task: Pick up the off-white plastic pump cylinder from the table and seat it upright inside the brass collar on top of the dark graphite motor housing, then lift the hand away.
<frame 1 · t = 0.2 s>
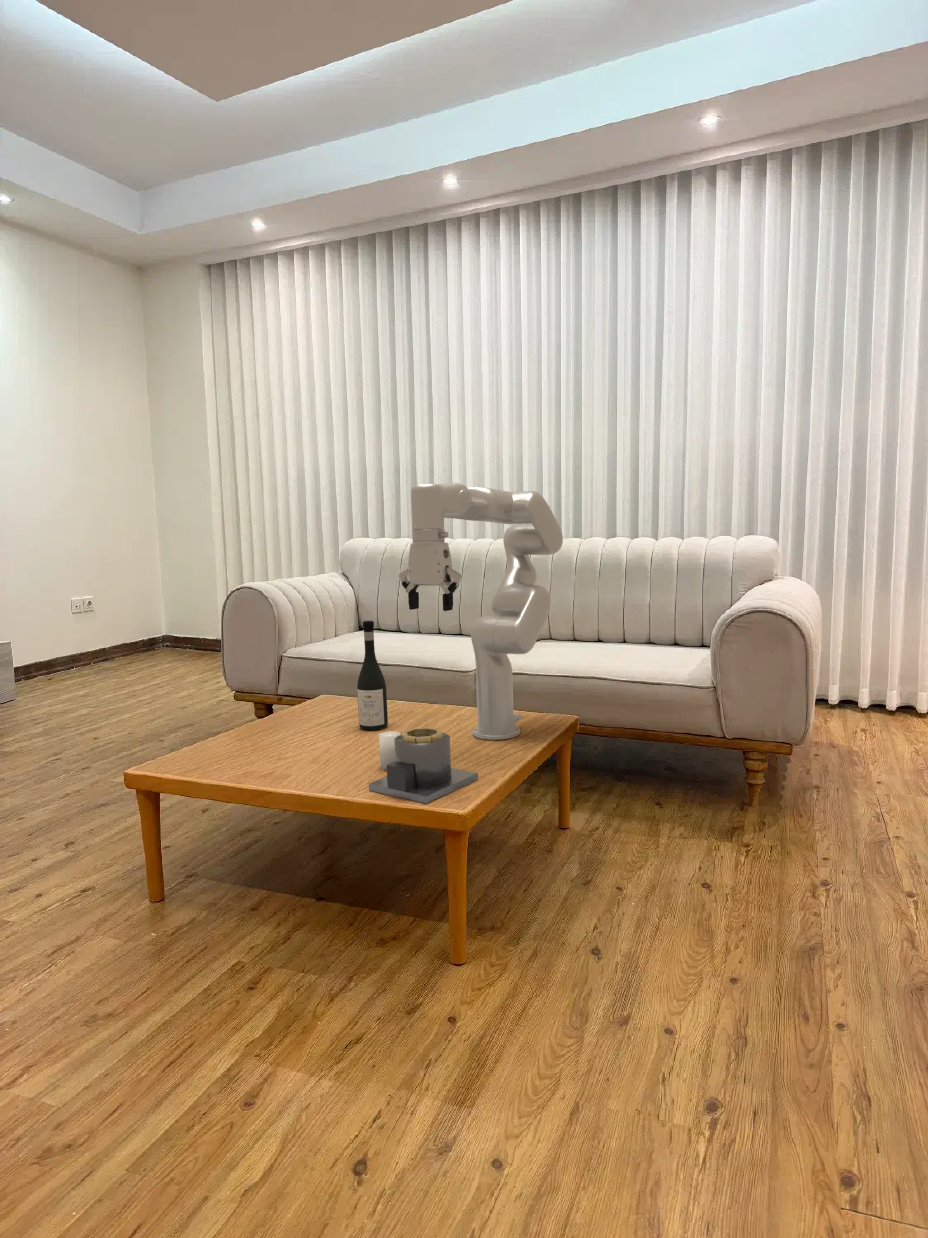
hand: (430, 609, 198), 36 cm above the table, tool pointing down, fingers open, 9 cm apart
pump: (391, 767, 196), on the table
motor: (424, 785, 183), on the table
wine bottle: (373, 728, 234), on the table
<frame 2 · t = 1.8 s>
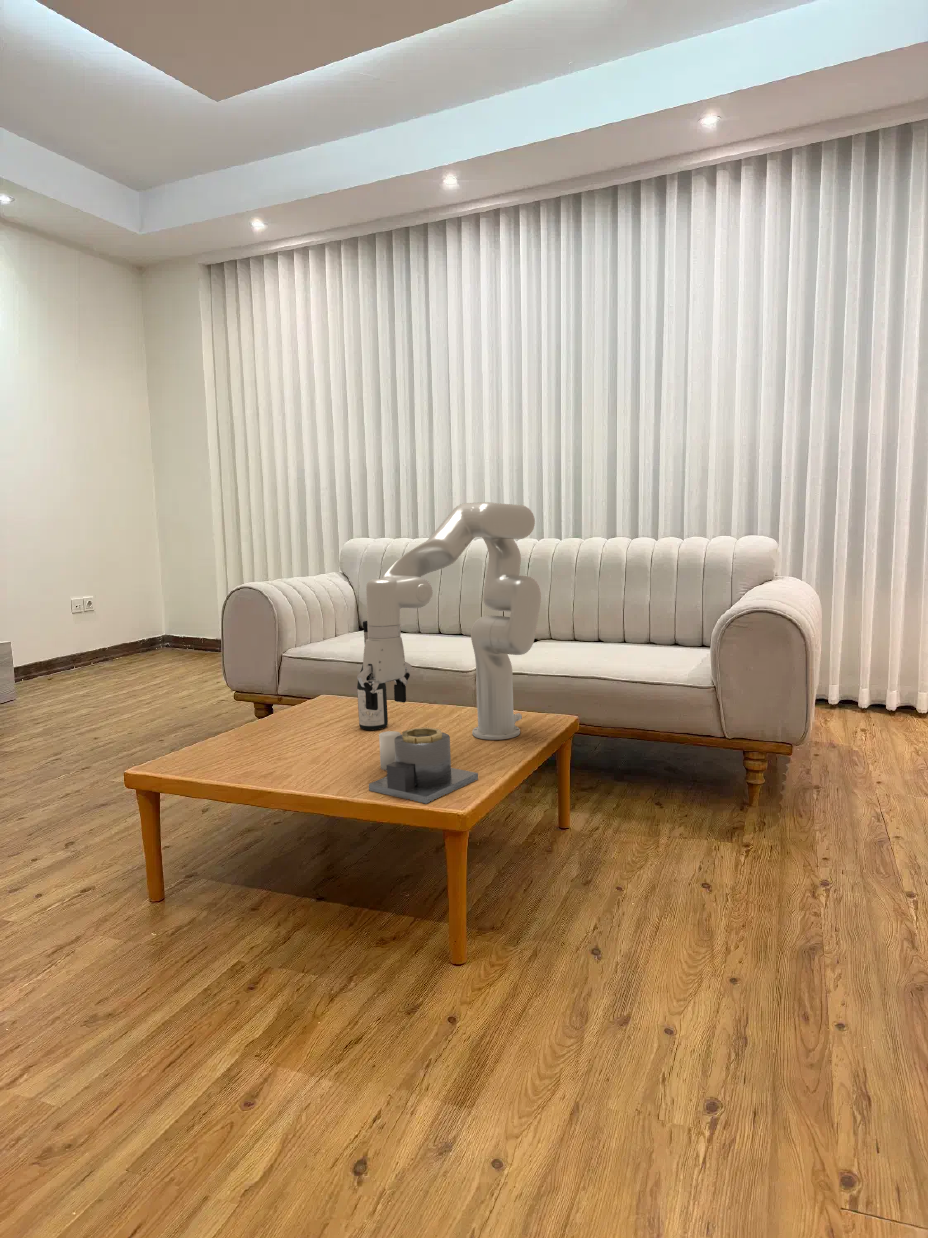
hand: (386, 705, 194), 15 cm above the table, tool pointing down, fingers open, 9 cm apart
nothing on the table moved.
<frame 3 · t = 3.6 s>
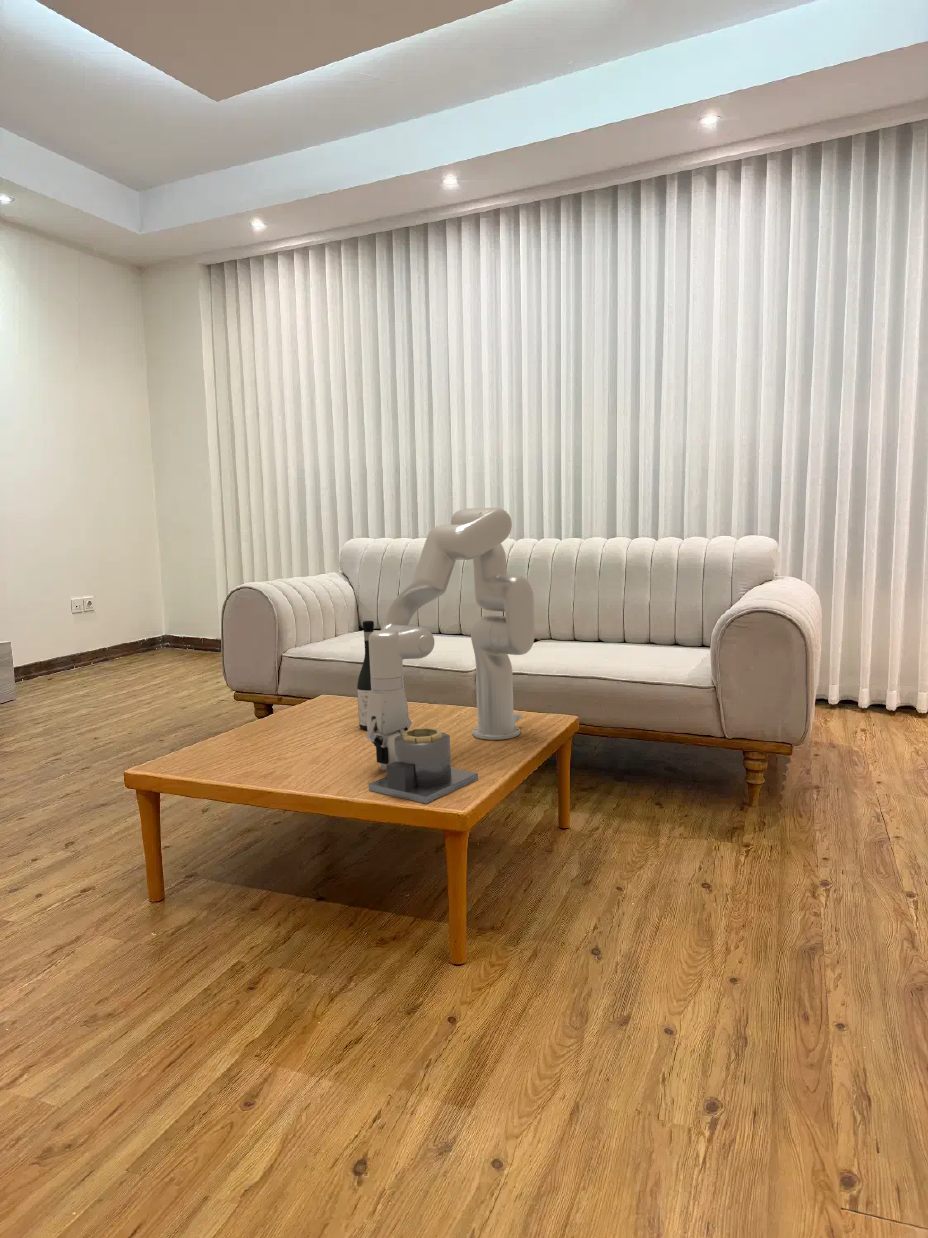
hand: (390, 759, 196), 2 cm above the table, tool pointing down, fingers closed on pump, 5 cm apart
pump: (391, 767, 196), on the table, touching gripper
everything else where it was.
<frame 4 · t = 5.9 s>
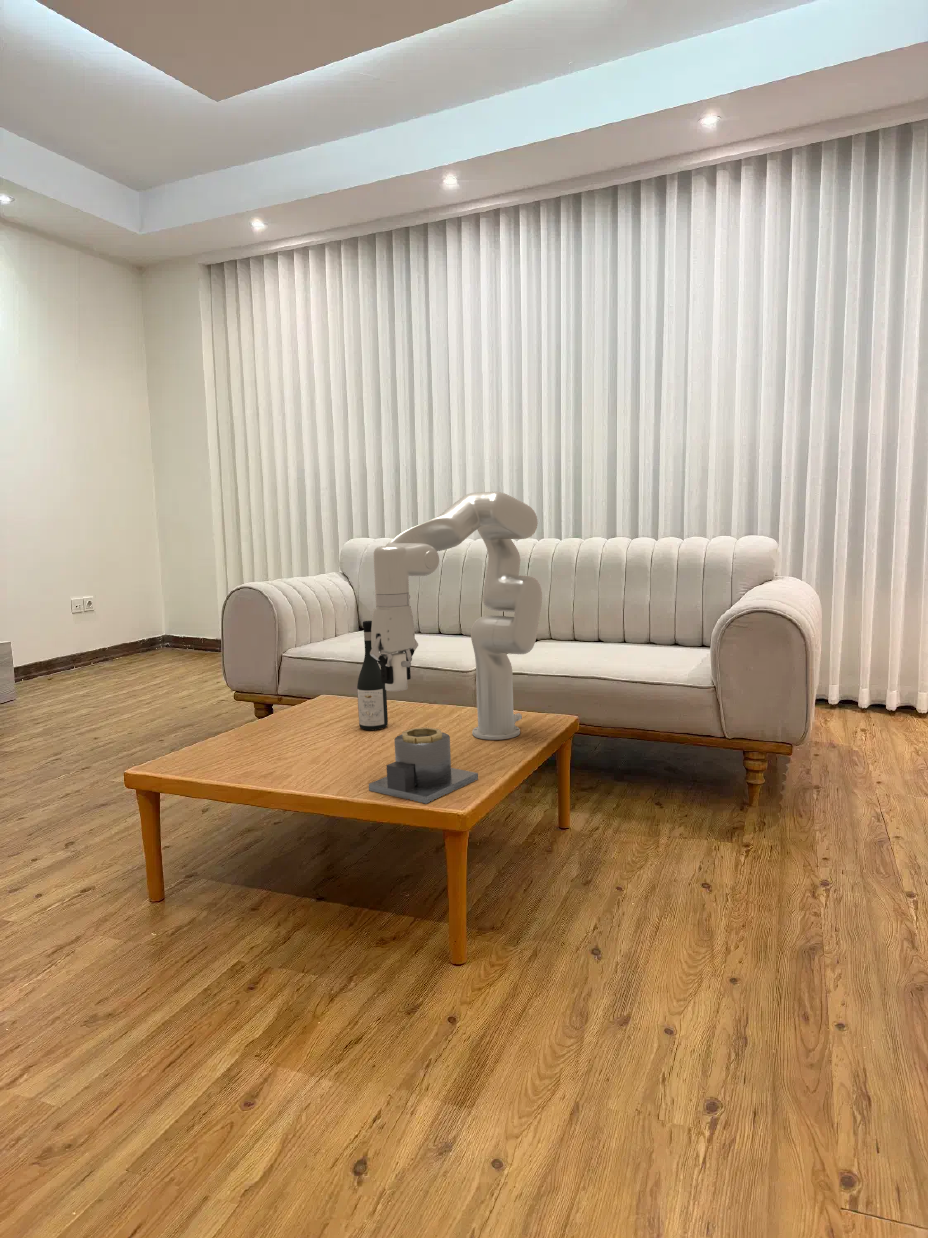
hand: (396, 680, 189), 22 cm above the table, tool pointing down, fingers closed on pump, 5 cm apart
pump: (396, 688, 190), point 20 cm above the table, touching gripper
everything else where it was.
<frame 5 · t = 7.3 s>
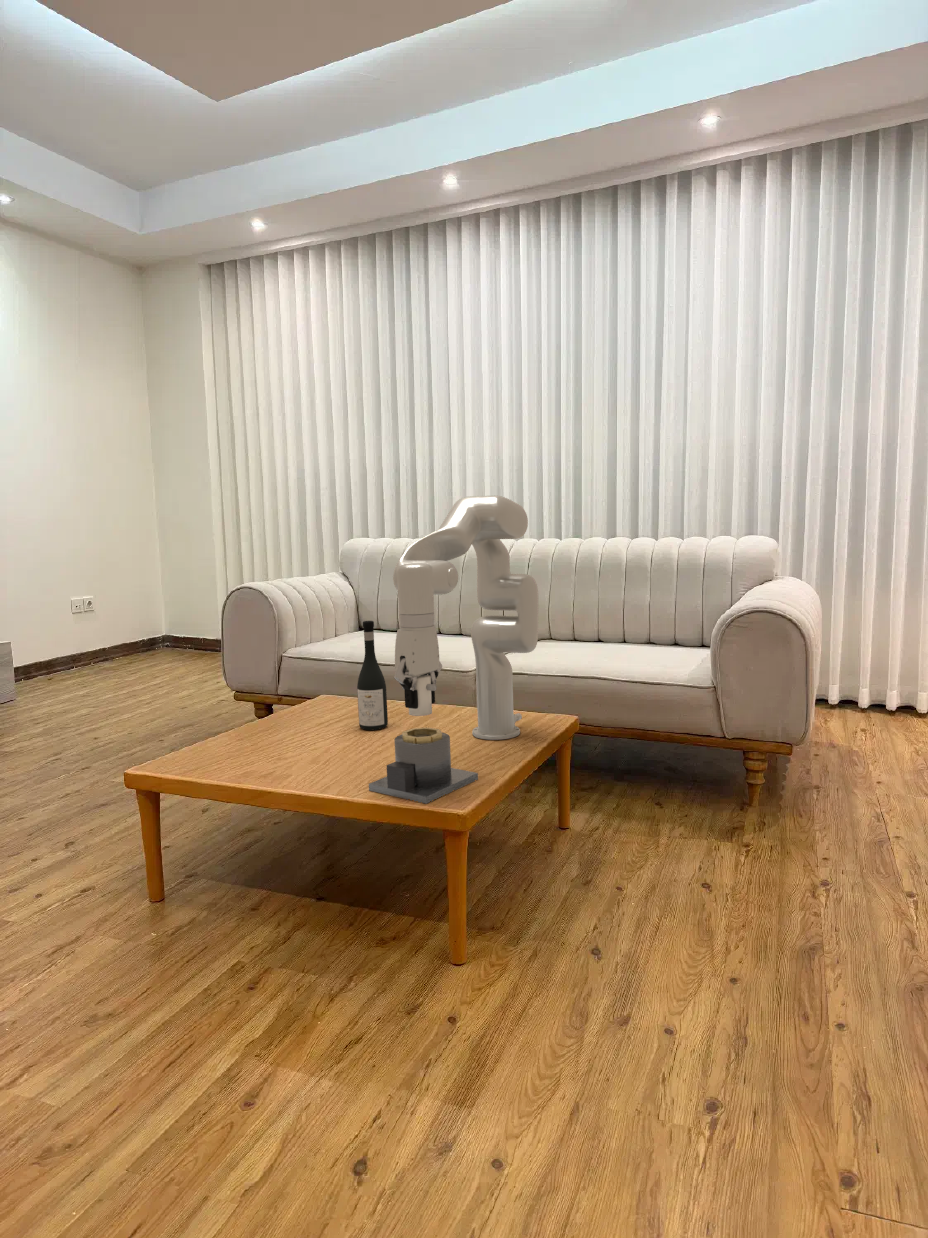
hand: (420, 704, 180), 18 cm above the table, tool pointing down, fingers closed on pump, 5 cm apart
pump: (420, 713, 180), point 16 cm above the table, touching gripper
everything else where it was.
when the fingers open (13 cm above the table, at t = 8.4 s): pump stays where it is, resting on motor.
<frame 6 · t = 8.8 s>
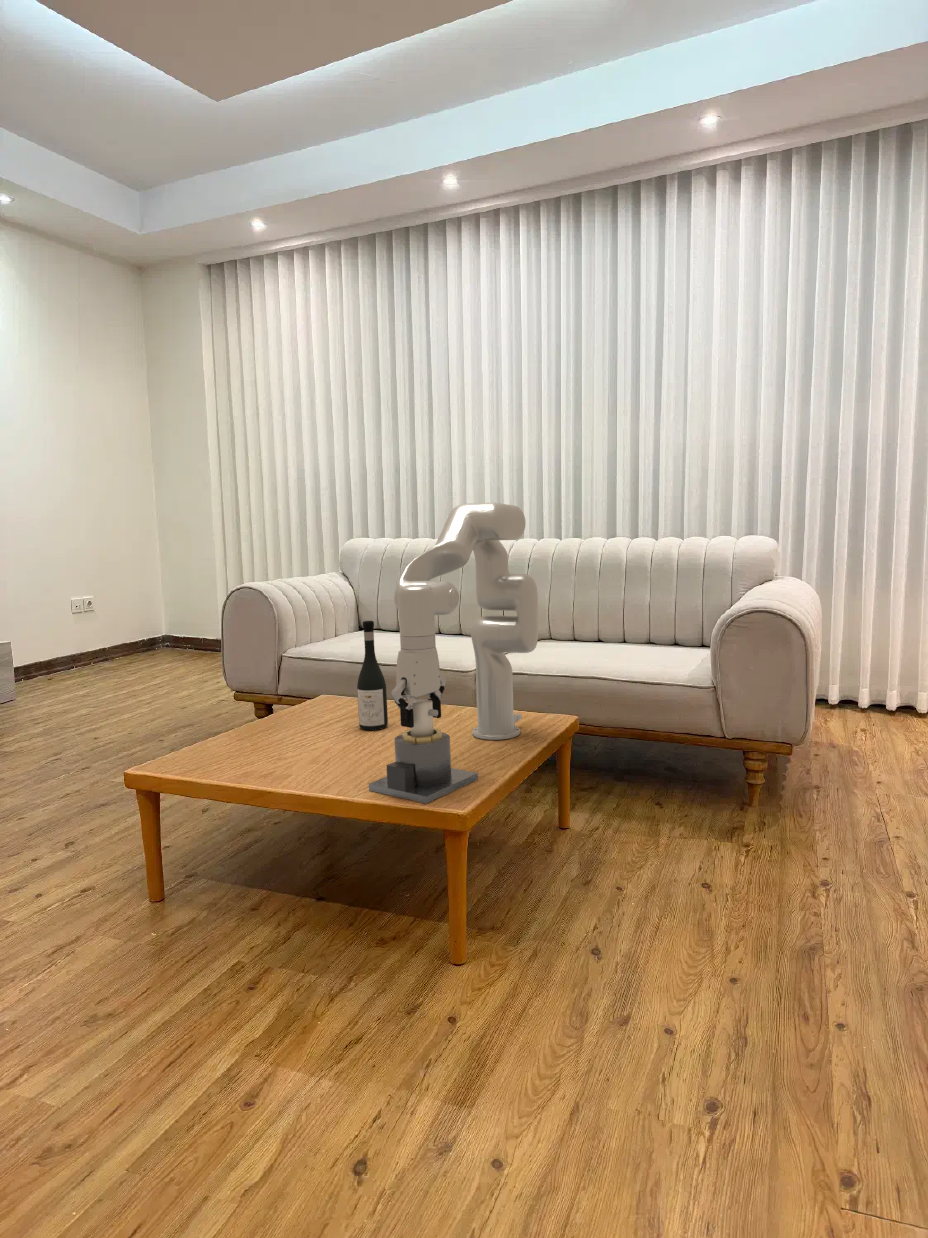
hand: (421, 721, 181), 14 cm above the table, tool pointing down, fingers open, 8 cm apart
pump: (422, 738, 181), point 11 cm above the table, touching motor
everything else where it was.
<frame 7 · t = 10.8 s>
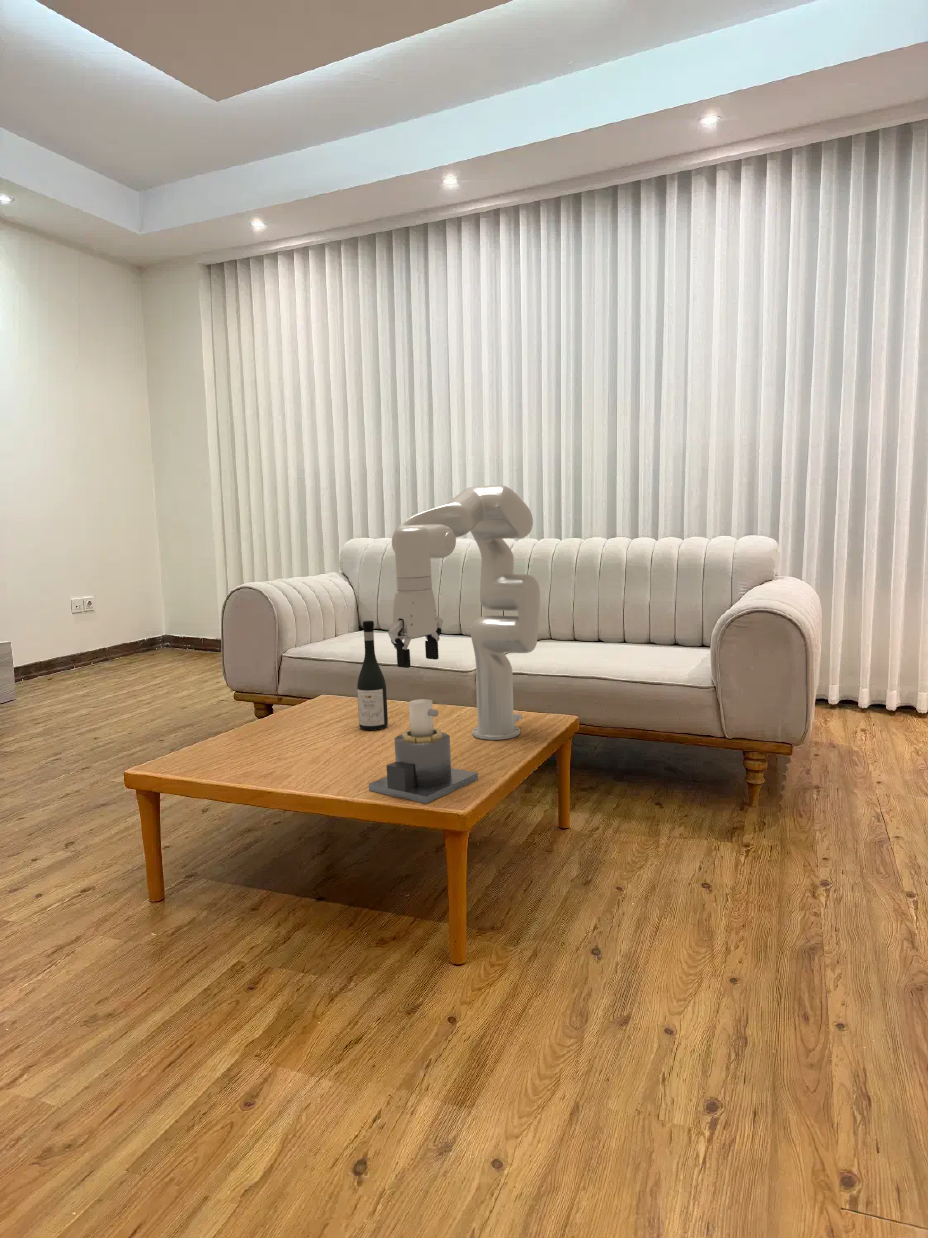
hand: (418, 662, 182), 27 cm above the table, tool pointing down, fingers open, 9 cm apart
nothing on the table moved.
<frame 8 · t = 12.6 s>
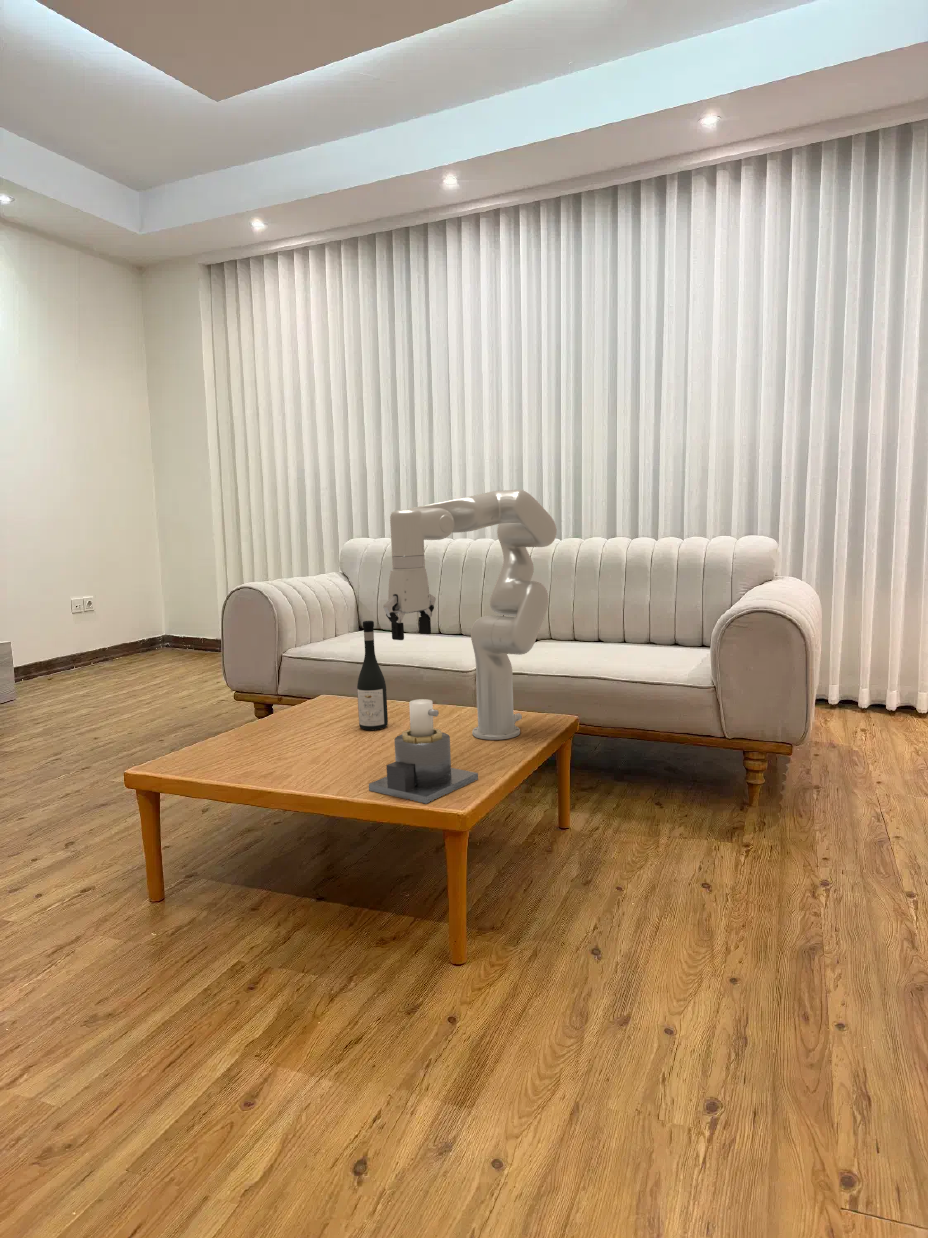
hand: (411, 636, 195), 30 cm above the table, tool pointing down, fingers open, 9 cm apart
nothing on the table moved.
at the end: pump 0.1 cm off-centre on the motor, point 10.5 cm above the motor's base; pump tilted 0°; the gripper is holding nothing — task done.
